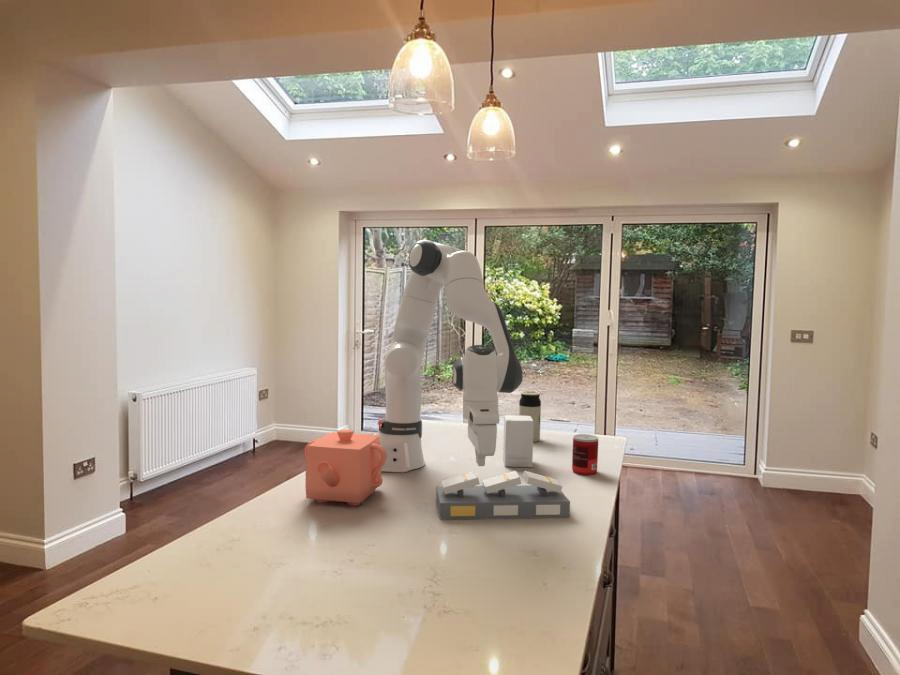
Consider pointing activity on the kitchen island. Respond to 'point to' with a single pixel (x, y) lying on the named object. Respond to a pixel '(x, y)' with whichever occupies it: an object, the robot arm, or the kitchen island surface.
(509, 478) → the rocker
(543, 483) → the block
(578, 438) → the canned food
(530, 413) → the travel mug
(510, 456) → the supplement box
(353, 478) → the teapot
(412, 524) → the kitchen island surface
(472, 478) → the rocker
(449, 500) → the console
